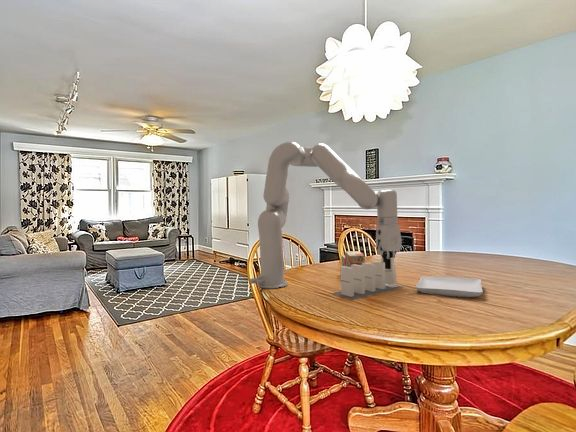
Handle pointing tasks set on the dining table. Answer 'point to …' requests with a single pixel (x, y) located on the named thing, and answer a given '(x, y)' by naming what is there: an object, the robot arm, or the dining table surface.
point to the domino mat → (368, 293)
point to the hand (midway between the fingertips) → (388, 268)
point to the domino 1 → (347, 281)
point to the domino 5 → (390, 273)
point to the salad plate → (450, 286)
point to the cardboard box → (352, 258)
